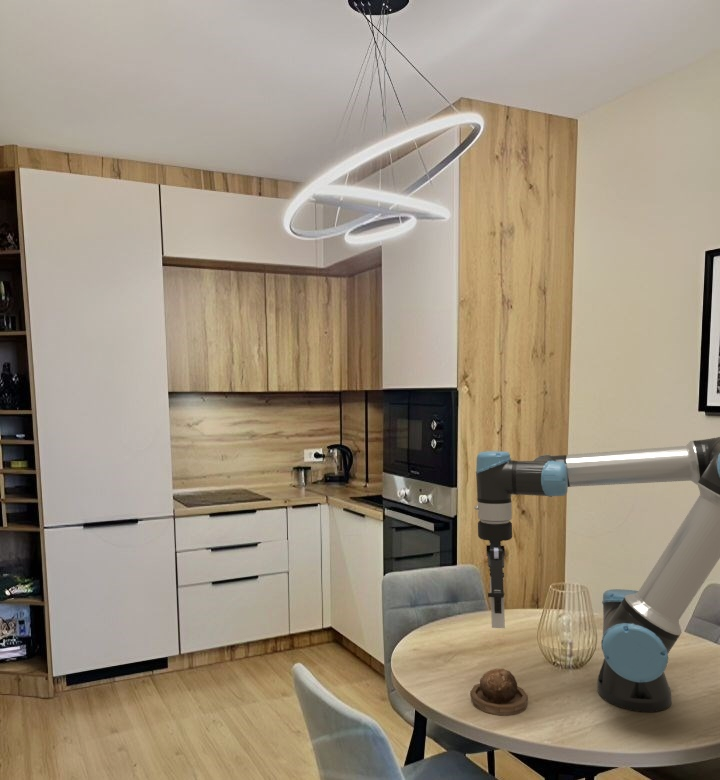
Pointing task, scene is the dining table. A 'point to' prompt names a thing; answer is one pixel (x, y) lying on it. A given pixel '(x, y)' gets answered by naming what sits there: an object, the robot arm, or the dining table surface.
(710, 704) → the dining table surface
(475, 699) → the tray
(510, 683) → the brown ball
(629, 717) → the dining table surface
